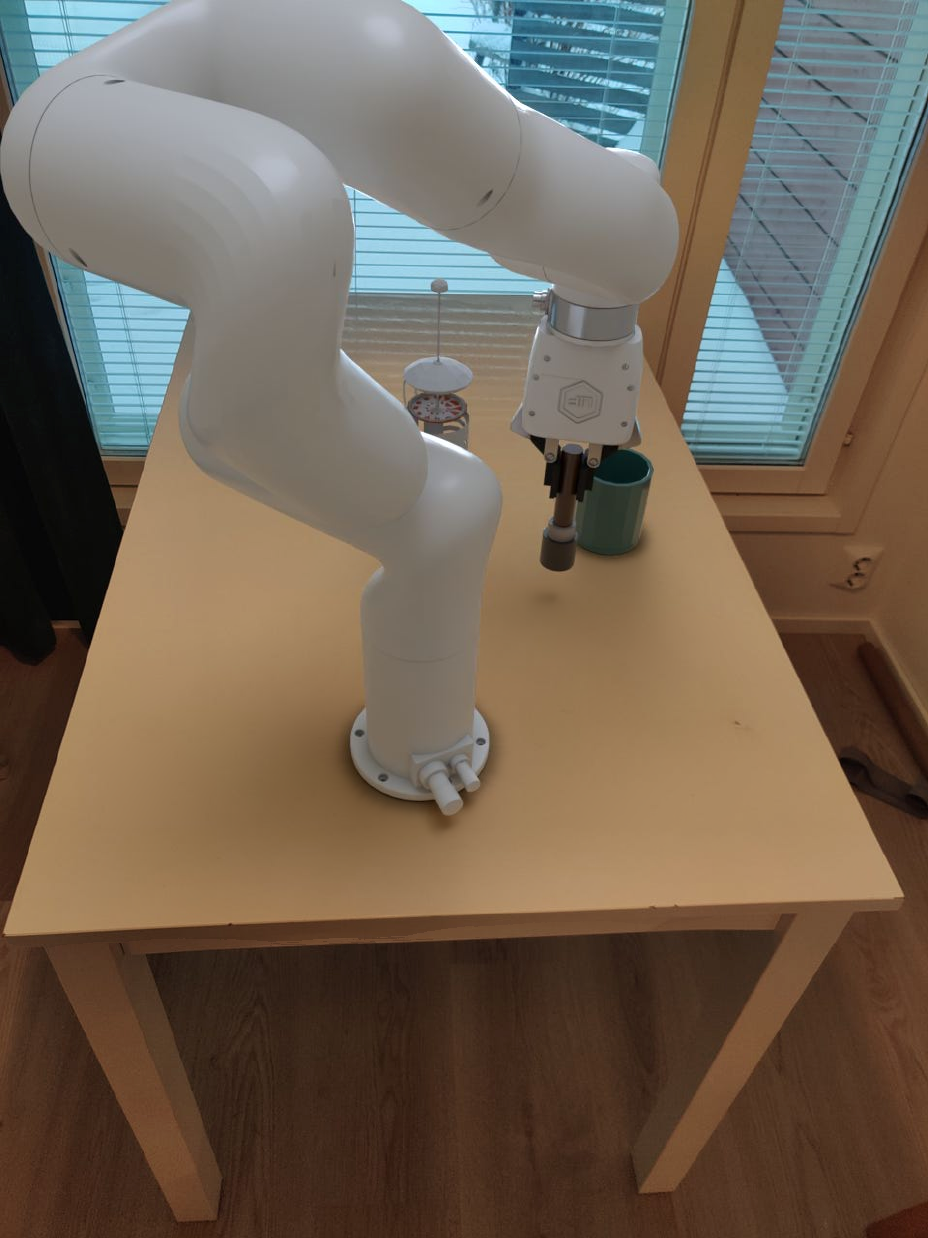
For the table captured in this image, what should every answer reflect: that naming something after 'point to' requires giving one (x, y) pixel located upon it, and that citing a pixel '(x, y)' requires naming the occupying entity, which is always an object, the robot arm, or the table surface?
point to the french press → (439, 390)
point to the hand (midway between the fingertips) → (567, 491)
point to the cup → (615, 504)
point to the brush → (563, 515)
